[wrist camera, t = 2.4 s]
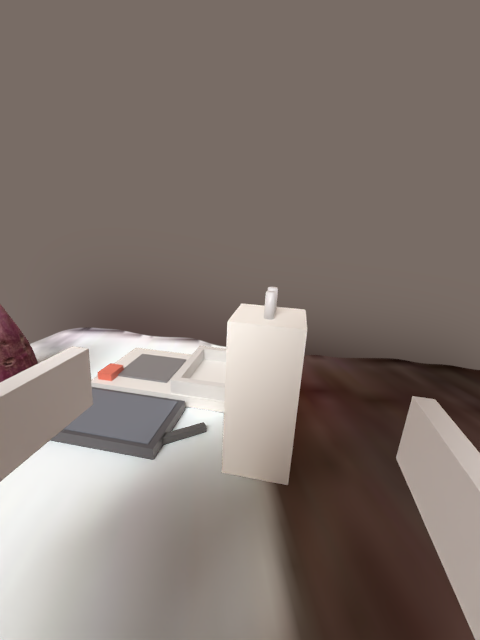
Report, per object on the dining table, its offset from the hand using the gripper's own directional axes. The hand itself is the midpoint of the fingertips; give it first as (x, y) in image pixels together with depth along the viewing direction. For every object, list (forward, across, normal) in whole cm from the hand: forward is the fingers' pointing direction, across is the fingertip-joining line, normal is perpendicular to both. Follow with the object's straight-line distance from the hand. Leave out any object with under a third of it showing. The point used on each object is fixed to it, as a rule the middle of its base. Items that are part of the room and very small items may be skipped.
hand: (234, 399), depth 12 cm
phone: (+11, -14, -11) cm, 21 cm away
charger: (+10, +1, -11) cm, 15 cm away
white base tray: (+20, -8, -11) cm, 24 cm away
